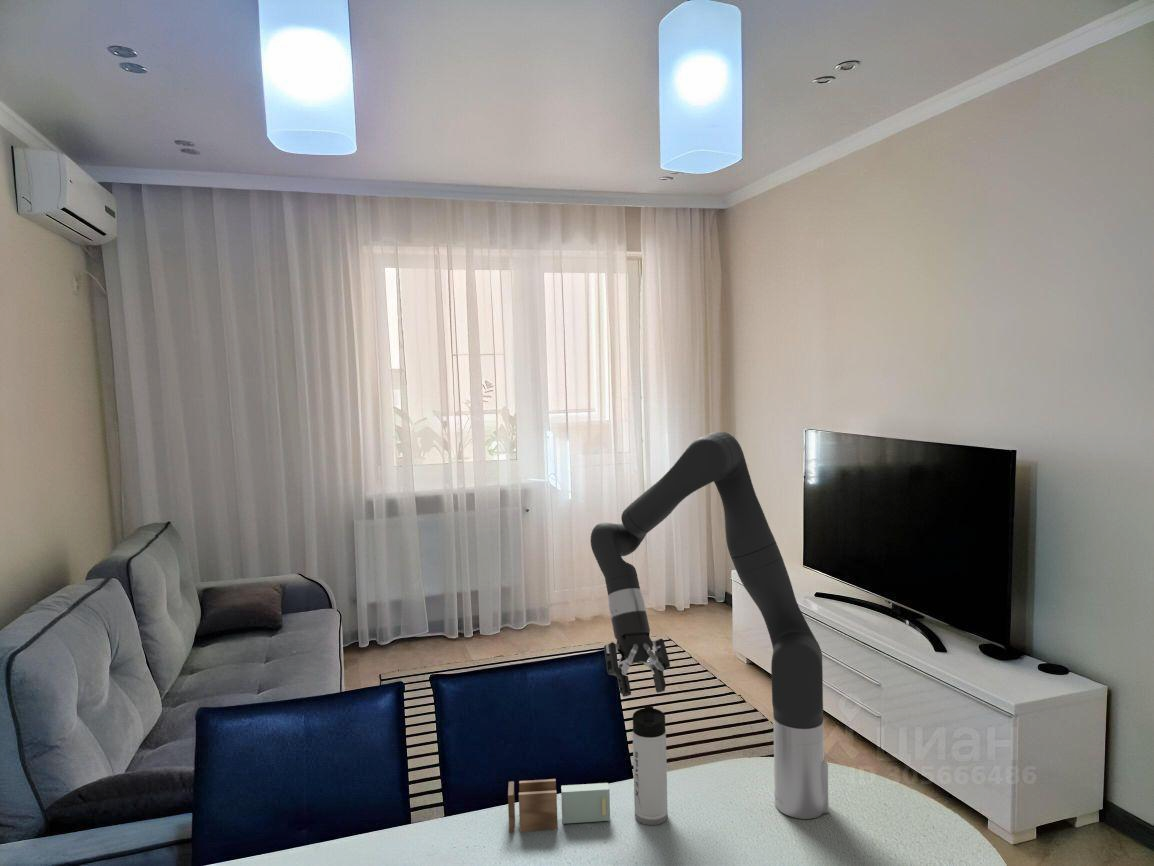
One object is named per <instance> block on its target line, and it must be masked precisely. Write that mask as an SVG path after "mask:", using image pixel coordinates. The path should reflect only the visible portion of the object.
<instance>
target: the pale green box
mask: <svg viewBox="0 0 1154 866" xmlns="http://www.w3.org/2000/svg"><path fill="white" fill-rule="evenodd" d="M560 786H561V787H560V789H561V790H560V791H561V793H560V794H561V820H562V824H576V823H593V822H595V823H596V822H604V821H605V822H606V821H607V822H608V821H611V802H610V800H611V799H610V797H611V796H610V786H609V782H598V783H597V782H596V783H586V784H584V783H582V784H567V785H566V784H565V785H560Z"/></svg>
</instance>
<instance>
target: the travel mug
mask: <svg viewBox="0 0 1154 866" xmlns="http://www.w3.org/2000/svg"><path fill="white" fill-rule="evenodd" d="M666 733H667V731H666V715H665V713H664V712H663V711H661V710H660V709H657V708H654V705H651V706H644V708H640V709H638V710H636V711H634V712H633V714H632V749H633V750H632V755H633V756H632V759H633V797H634V798H633V800H634V805H633V806H634V817H635V819H636V820H637V821H638V822H639V823H641V824H644V825H646V824H647V825H646V826H656V825H657V824H658V825H660V824H663V823H664V822H666V820H668V815H669V814H668V813H669V811H668V772H667V770H668V769H667V768H668V766H667V765H668V764H667V734H666Z"/></svg>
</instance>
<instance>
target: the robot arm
mask: <svg viewBox="0 0 1154 866" xmlns="http://www.w3.org/2000/svg"><path fill="white" fill-rule="evenodd" d="M713 482H714V485H715V487H716V490H717V492H718V494H719V496H720V499H721V502H722V506H723V513H724V524H725V525H724V528H725V529H724V530H725V539H726V540H725V541H726V544H727V545H726V547H727V549H728V554H729V556H730V559H731V560H732V564H733V566H734V568H735V570H736V573H737V575H738V578H739V580H740V582H741V583H742V585H743V587H744V589H745V590H746V592H747V593H748V595H749V597H750V598H751V599H752V601H753V602H754V604H755V605H756V606H757V608H758V610H759V612H760V614H761V616H762V618H763V620H764V622H765V625H766V628H767V632H768V634H769V638H770V642H771V645H772V655H771V656H772V657H771V663H770V664H771V666H770V668H771V673H770V675H771V703H772V704H771V705H772V713H773V715H772V717H773V758H774V759H773V765H774V767H773V770H774V804H775V807H776V809H777V810H778V811H779V812H781V813H782V814H784V815H786V816H788V817H792V818H795V819H801V820H807V819H808V820H811V819H815V818H818V817H820V816H822V815H823V814H829V811H830V810H829V808H830V805H829V801H830V799H829V763H828V762H827V761H826V760H825V758H824V757H825V755H824V752H825V750H824V746H825V745H824V744H825V743H824V741H825V740H824V694H823V693H824V691H823V690H824V688H823V684H824V682H823V681H824V680H823V679H824V678H823V674H824V673H823V652H822V648H821V647H820V644H819V642H818V640H817V639H816V637H815V635H814V633H813V632H812V630H811V628H810V625H808V622H807V620H806V618H805V616H804V615H803V613H802V611H801V609H800V607H799V605H798V602H797V598H796V596H795V595H796V594H795V593H794V589H793V585H792V582H791V579H790V576H789V572H788V570H787V567H786V565H785V562H784V559H783V556H782V553H781V550H780V548H779V545H778V543H777V542H776V539H775V537H774V535H773V533H772V530H771V527H770V525H769V523H768V521H767V518H766V515H765V513H764V510H763V508H762V505H761V503H760V501H759V499H758V496H757V493H756V491H755V488H754V486H753V485H754V484H753V482H752V479H751V475H750V472H749V469H748V465H747V462H746V457H745V455H744V451H743V449H742V447H741V444H740V443H739V441H738V440H737V439H736V438H735V436H733V435H732V434H730V433H729V432H726V431H724V430H723V431H722V430H721V431H720V430H718V431H713V432H710V433H707V434H705V435H701V436H700V437H697V438H696V439H694V440H693V441H692V442H691V443H690V445H689V446H688V447H687V448H686V449H685V451H684V452H683V453H682V454H681V455H680V457H679V458H678V459H677V461H676V462H675V463H674V464H673V465H672V467H670V469H669V470H668V471H667V472H666V473H665V474H664V475H663V476H662V477H661V478H660V479H659V480H658V481H656V482H655V483H654V484H653V485H652V486H651V487H649V488H648V489H647V490H646V491H644V492H643V493H642V494H641V495H639V496H638V497H637V498H635V500H634V501H633V502H631V503H630V504H629V505H628V506H627V507H626V508H625V509H624V510H623V512H622V513H621V518H620V519H621V523H619V524H618V523H613V522H600V523H598V524H596V525H595V526H594V527H593V529H592V531H591V533H590V546H591V551H592V553H593V556H594V557H595V560H596V562H597V565H598V567H599V569H600V571H601V573H602V575H603V576H604V577H603V578H604V581H605V587H606V592H607V597H608V610H609V614H610V619H611V623H612V630H613V636H614V639H616V643H615V642H614V641H612V642H610V643H607V644H605V645H604V646H603V650H604V658H605V665H606V672H607V674H608V675H609V676H615V677H616V679H617V683H618V688H619V689H618V690H619V693H620V695H621V696H622V697H624V698H625V697H629V696H631V695H632V691H631V685H630V680H629V676H628V675H627V673H628V670H630V669H629V668H630V667H631V665H634V664H639V665H640V664H643V665H644V666H646V667H648V668H649V669H650V670H651V672H652V673H653V674H652V678H653V682H654V688H655V692H656V693H662V692H665V691H666V687H667V685H666V679H665V675H664V671H665V670H666V669H668V668H670V667H671V662H670V659H669V656H668V652H667V647H666V644H665V641H664V639H663V638H659V639H656V640H652V639H651V637H650V634H651V633H650V632H651V629H650V628H651V627H650V623H649V620H648V614H647V610H646V609H647V608H646V605H645V600H644V596H643V595H642V592H641V586H640V582H639V578H638V573H637V569H636V567H635V566H634V565H633V564H631V563H629V562H627V561H625V560H624V559H623V557H625V556H629V555H630V554H632V553H633V552H635V551H636V550H637V549H638V548H639V546H640V545H641V543H642V542H643V541H644V540H645V537H646V536H647V534H648V533H649V532H651V531H652V530H653V529H654V528H656V527H657V526H658V525H659V524H661V523H662V522H663V521H664V520H666V518H668V516H670V514H672V512H673V511H674V510H675V509H676V507H678V505H679V504H680V503H681V502H682V501H684V500H685V499H686V498H688V497H689V496H690V495H691V494H693V493H694V492H696V491H698V490H700V489H702V488H703V487H705V486H707V485H709V484H711V483H713ZM653 651H654V652H653ZM618 653H619V655H620V658H619V660H618V655H617V654H618Z"/></svg>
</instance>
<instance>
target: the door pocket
mask: <svg viewBox="0 0 1154 866" xmlns="http://www.w3.org/2000/svg"><path fill="white" fill-rule="evenodd" d="M518 786H519V787H518V790H519V792H518V810H519V812H518V815H519V832H520V833H524V832H536V831H537V832H538V831H555V830H554V829H557V830H559V829H558V826H559V825H558V795H557V792H558V791H557V780H556V778H549V779H534V780H530V779H529V780H519V782H518ZM507 789H508V790H507V802H508V803H507V806H508V807H507V809H508V833H515V829H516V808H515V805H516V804H515V801H516V800H515V781H512V780H511V781H508V788H507Z"/></svg>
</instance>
